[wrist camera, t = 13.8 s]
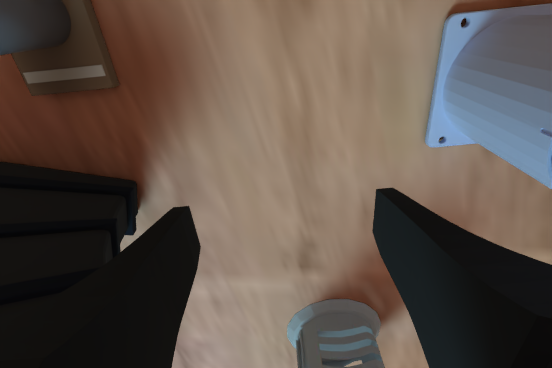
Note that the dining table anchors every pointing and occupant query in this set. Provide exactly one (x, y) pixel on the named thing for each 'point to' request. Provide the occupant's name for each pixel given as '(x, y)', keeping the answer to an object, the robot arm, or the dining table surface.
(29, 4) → the awl peg
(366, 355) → the french press
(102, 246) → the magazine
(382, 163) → the dining table surface
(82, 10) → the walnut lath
